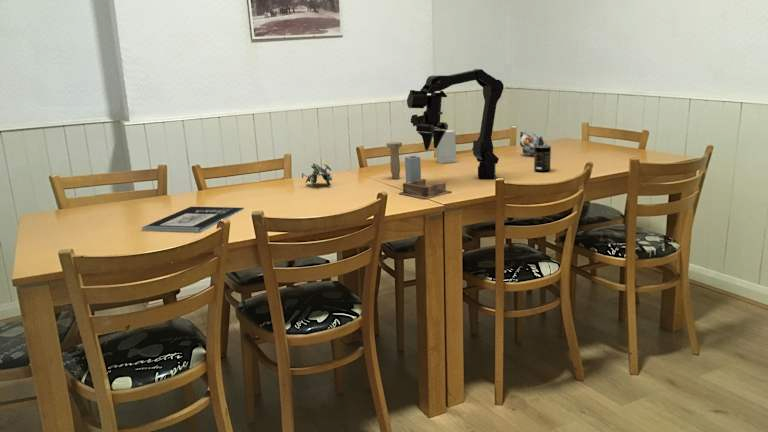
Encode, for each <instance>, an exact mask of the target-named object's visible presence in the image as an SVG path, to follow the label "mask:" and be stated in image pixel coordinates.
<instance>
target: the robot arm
mask: <svg viewBox="0 0 768 432" xmlns="http://www.w3.org/2000/svg"><path fill="white" fill-rule="evenodd" d="M472 81H476V83H477V84H478V85H479V86H480V87H482V96H483V100H484V106H483V111H482V116H481V118H482V119H481V123H480V131H479V137H478V139H477V140H472V141H473V143H472V148H471V151H472V155H473V156H474V157H475V158H476V161H477V163H478V162H479V164H478V166H477V177H478V179H480V180H483V179H484V180H488V179H489V180H490V179H491V180H494V179H496V178H497V174H496V171H497V170H496V165H498V162H499V157H498V156H497V155H496V154H495V152H494V144H493V141H492V135H493V129H494V128H493V127H494V124H495V118H496V117H495V116H496V110H497V104H498V102H499V100H500V99H501V97H502V94H503V92H504V85H505V84H504V83H503V81H502V80H501V79H496V78H495V77H494V76H492V75H491V74H488V73H487V71H486V72H485V71H484V69H481V68H474V69H472V70H467V71H463V72H458V73H454V74H453V73H452V74H448V75H443V74H442V75H441V74H439V75H429V76H428V77H427V78H426V81H425V83H424V85H423V86H422V88H421V89H420V90H414V89H410V90H409V93H408V96H407V98H406V105H407V107H408V108H409V109H424V108H425V107H426V109H425V110H424V111H423V112H422V113H423V115H418V114H413V115H411V118H410V123H411V124H412V127H416V128H415V130H416V132H417V134H418V135H420V137H421V138H422V141H423V146H424V149H425V150H424V151H429V148H430V146H431V143H432V141H433V148H434V149H436V148H437V147H438V145H439V143H440V141H441V139H442V137H443V135H444V134H445V132H446V131H445V130H449V129H448V128H449V124H448V123H447V122H445V121H443V122H441V115H443V111H442V102H443V101H442V100H443V98H448V95H447V94H446V93H445V91H444V90H446V89H448V88H449V87H452V86H454V85H458V84H463V83H468V82H472Z"/></svg>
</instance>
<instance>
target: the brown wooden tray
mask: <svg viewBox="0 0 768 432" xmlns="http://www.w3.org/2000/svg"><path fill="white" fill-rule="evenodd" d="M426 183H427V180H426V179H425V178H421V179H420V180H416V181H411V182H407V183H406V182H404V183H402V191H401V192H398V195H400V196H401V195H402V196H406V197H410V198H415V199H421V200H424V201H425V200H429V199H432V198H435V197H436V196H437V197H440V196H444V195H447V194H451V193H452V190H447V189H446V187H447V186H446V185H447V183H446V182H442V181H441V182H438V183H435V184H434V183H433V184H430V185H427V184H426ZM437 197H436V198H437Z"/></svg>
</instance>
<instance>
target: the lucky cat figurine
mask: <svg viewBox="0 0 768 432" xmlns="http://www.w3.org/2000/svg"><path fill="white" fill-rule="evenodd" d="M519 137H520V138H519V145H520V147H521V149H522V153H523V156H534V147H535V146H540V145H546V146H549V145H548V144H547V142H546V141H545V140H543V136H539V137H538V135H536V133H534V132H526V131H520V135H519Z"/></svg>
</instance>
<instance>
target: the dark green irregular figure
mask: <svg viewBox="0 0 768 432" xmlns="http://www.w3.org/2000/svg"><path fill="white" fill-rule="evenodd" d="M310 166H311V169H313V171H312V173H311V174H309V175H305V173H304V172H301V178H304V177H307V179H306V180H305V184H307V183H308V182H309V183H310V187H312V186H313V185H314V183H315V184H316V183H317V181H318V177H320V176H321V177H322V179H323V180H324V181H325V182H326V184H327V185H328V186H331V182H330V181H333V178H332V175H331V174H330V172H328V171H327V170H329V171H332V168H331V167H330V166H329V165H327V164H326V163H324V166H325V168H323V167H321V166H320V165H319V164H317V163H315V162H313V164H311V165H310Z"/></svg>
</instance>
